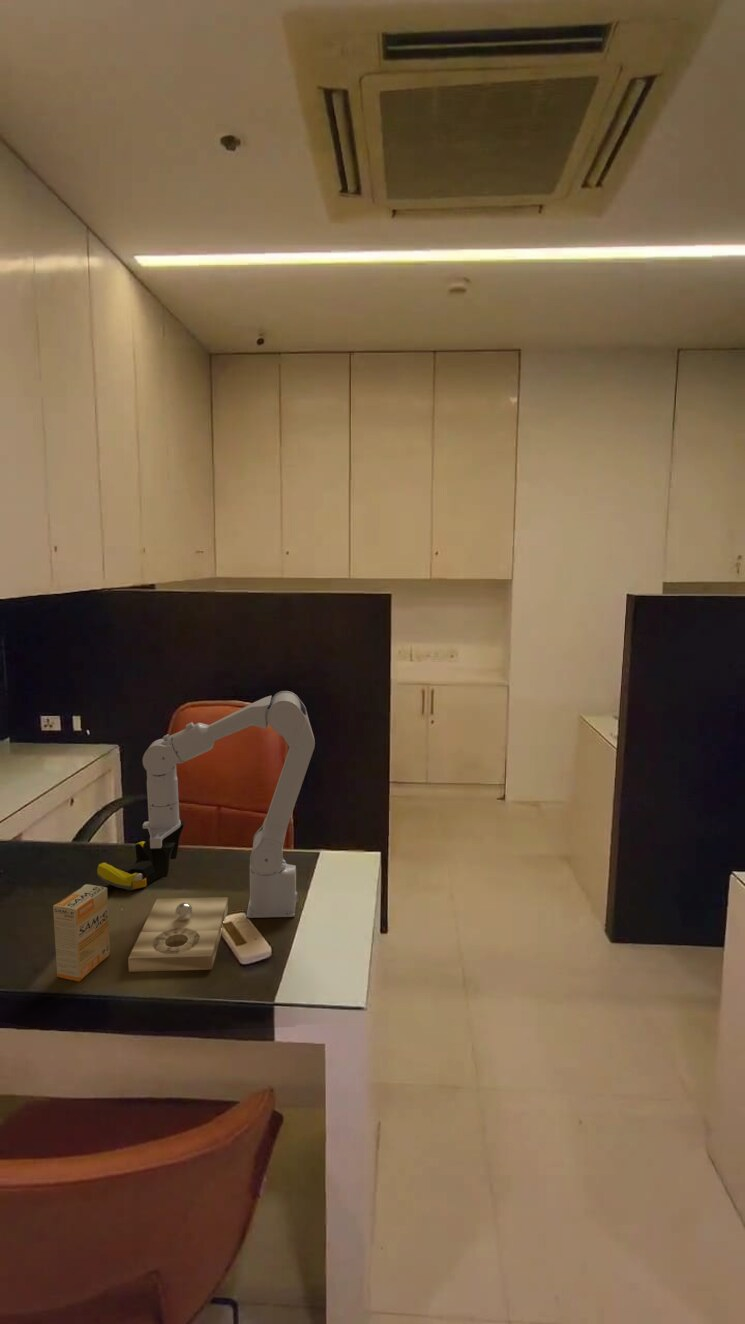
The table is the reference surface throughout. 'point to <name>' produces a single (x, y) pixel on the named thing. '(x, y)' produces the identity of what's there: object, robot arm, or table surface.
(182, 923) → the beige flat block
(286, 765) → the robot arm
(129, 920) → the table surface
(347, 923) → the table surface
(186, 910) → the ball
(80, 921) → the supplement box
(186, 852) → the table surface
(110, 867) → the gaming controller
